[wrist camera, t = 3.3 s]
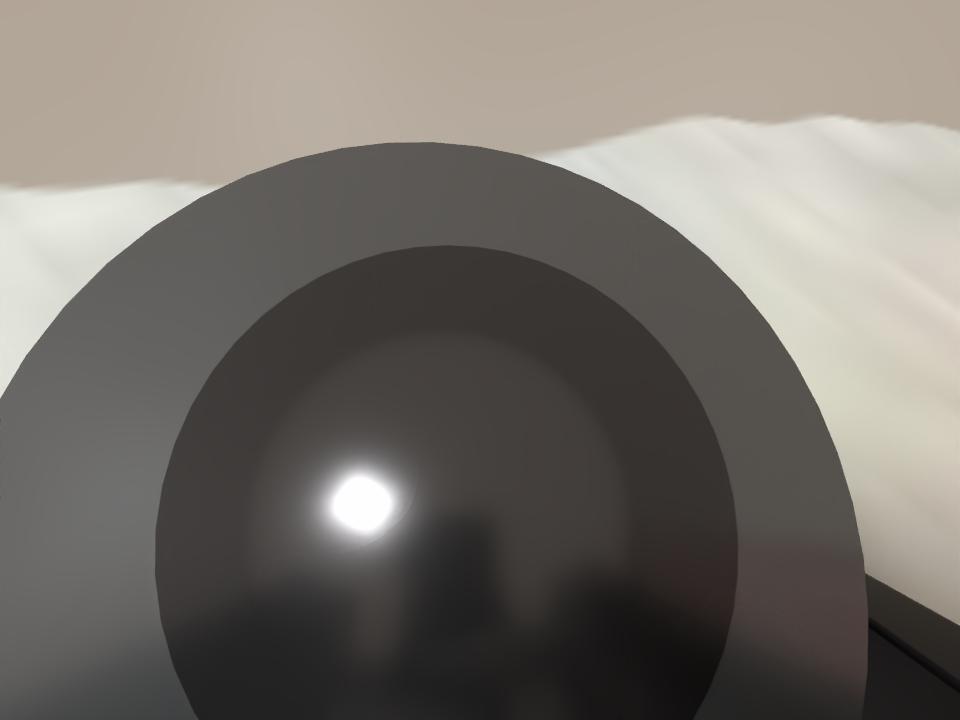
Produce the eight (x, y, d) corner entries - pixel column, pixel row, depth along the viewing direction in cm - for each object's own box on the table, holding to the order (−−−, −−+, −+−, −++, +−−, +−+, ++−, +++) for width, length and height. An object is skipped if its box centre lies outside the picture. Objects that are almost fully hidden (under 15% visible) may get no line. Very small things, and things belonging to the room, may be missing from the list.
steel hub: (422, 672, 14) (729, 1506, 2) (269, 573, 14) (-418, 721, 2) (509, 509, 16) (934, 376, 4) (374, 423, 16) (362, 30, 4)
